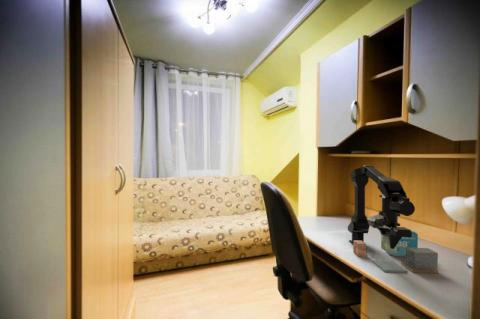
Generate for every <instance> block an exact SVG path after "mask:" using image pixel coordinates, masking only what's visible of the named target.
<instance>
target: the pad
mask: <svg viewBox="0 0 480 319" xmlns="http://www.w3.org/2000/svg"><path fill="white" fill-rule="evenodd" d="M371 263H373V264H374V265H375V266H376V267H378V268H379V269H380V270H381V271H382V272H384V273H404V274H405V273H406V274H407V273H408V269H407V268H405V267H404V266H402V265H400V264H399V263H397V262H395V261H394V260H390V259H388V260H387V259H386V260H385V259H372V260H371Z"/></svg>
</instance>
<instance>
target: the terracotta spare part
mask: <svg viewBox="0 0 480 319" xmlns="http://www.w3.org/2000/svg"><path fill="white" fill-rule="evenodd" d="M352 252H353V254H354V255H355V256H357V257H367V243H366V242H365V241H364V242H363V241H358V240H354V245H353V250H352Z"/></svg>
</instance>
